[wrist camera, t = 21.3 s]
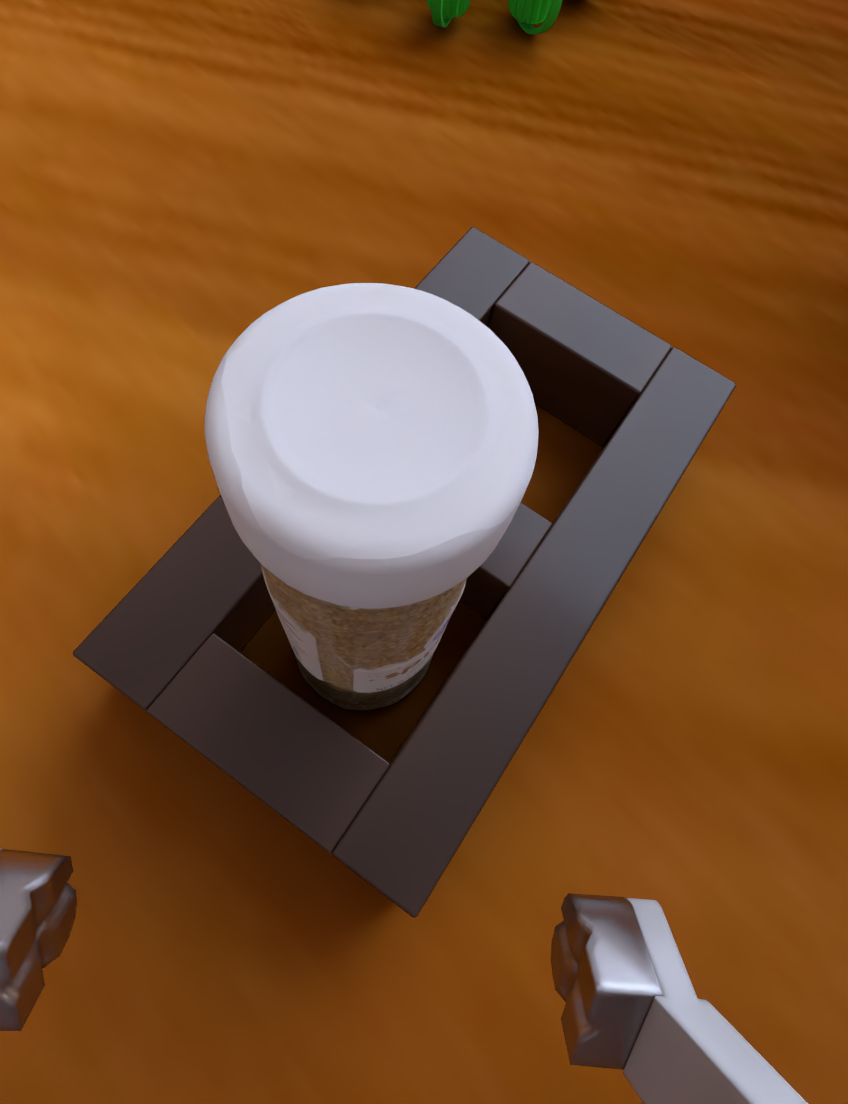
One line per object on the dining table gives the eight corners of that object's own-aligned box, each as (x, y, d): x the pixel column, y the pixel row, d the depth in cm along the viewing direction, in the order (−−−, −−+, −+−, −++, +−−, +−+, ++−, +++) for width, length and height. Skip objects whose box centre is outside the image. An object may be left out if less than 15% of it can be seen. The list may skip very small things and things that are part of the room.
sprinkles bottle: (425, 720, 20) (538, 592, 8) (279, 701, 20) (154, 539, 7) (440, 582, 22) (554, 294, 9) (306, 564, 22) (239, 243, 9)
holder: (116, 677, 20) (70, 652, 17) (458, 295, 26) (472, 225, 23) (405, 898, 18) (415, 920, 15) (688, 437, 25) (738, 383, 22)
